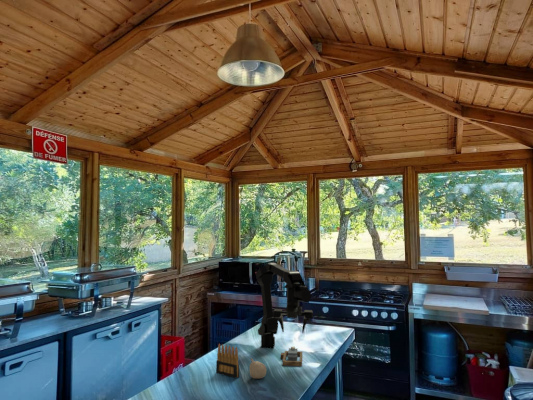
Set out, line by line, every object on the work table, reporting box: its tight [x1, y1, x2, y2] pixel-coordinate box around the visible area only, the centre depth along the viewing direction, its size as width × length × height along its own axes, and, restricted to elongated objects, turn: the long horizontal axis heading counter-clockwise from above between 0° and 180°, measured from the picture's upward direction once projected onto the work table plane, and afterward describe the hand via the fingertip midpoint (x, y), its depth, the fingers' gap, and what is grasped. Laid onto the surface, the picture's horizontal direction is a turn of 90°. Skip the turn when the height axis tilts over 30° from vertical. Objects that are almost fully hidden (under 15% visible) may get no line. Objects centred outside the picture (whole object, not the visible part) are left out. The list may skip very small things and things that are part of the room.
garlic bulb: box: [249, 358, 267, 380], centre depth 150 cm, size 7×6×8 cm
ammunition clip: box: [215, 342, 240, 379], centre depth 153 cm, size 11×2×12 cm, turn 59°
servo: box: [287, 346, 298, 361], centre depth 170 cm, size 4×9×6 cm, turn 173°
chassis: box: [280, 350, 304, 367], centre depth 171 cm, size 10×14×2 cm
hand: (292, 332), depth 174 cm, fingers open, 9 cm apart
